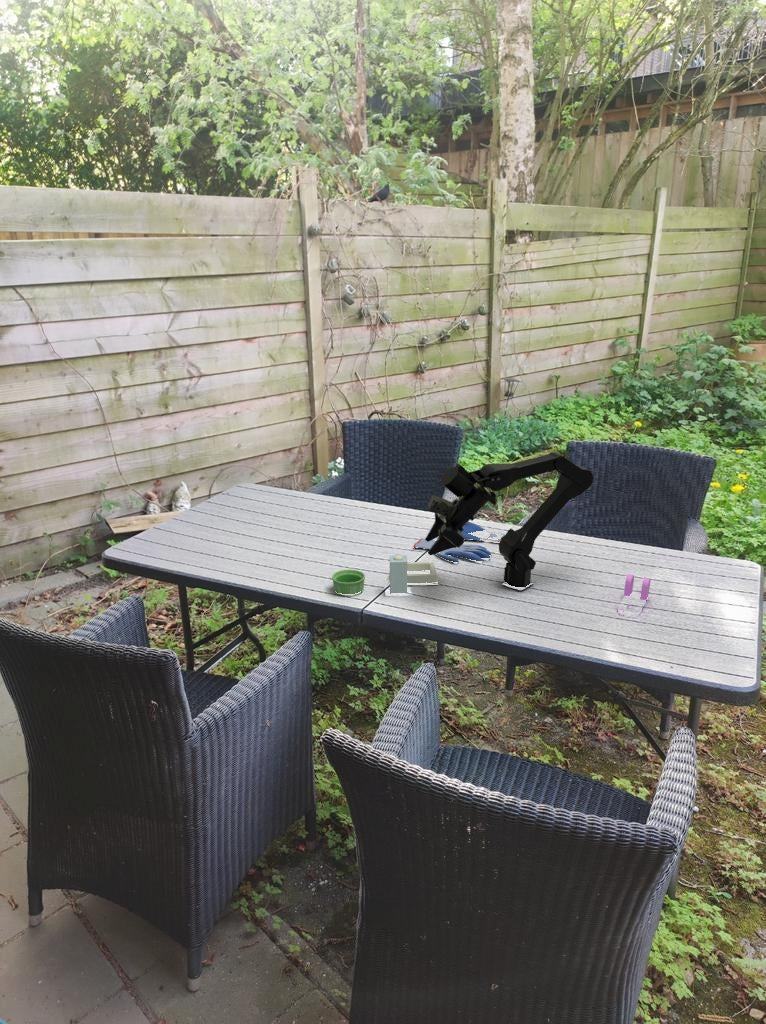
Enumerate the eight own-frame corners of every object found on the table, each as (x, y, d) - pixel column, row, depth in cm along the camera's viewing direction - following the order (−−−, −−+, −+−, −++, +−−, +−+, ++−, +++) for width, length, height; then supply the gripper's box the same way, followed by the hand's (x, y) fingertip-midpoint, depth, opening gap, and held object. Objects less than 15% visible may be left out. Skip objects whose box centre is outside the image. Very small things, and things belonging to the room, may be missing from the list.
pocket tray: (435, 570, 206) (435, 557, 204) (438, 585, 196) (439, 572, 195) (390, 571, 205) (390, 558, 204) (391, 586, 196) (391, 573, 194)
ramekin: (328, 586, 196) (327, 572, 195) (359, 581, 199) (358, 567, 198) (337, 600, 188) (337, 585, 187) (369, 594, 191) (369, 579, 190)
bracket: (626, 595, 190) (629, 571, 188) (647, 600, 188) (651, 576, 185) (614, 615, 180) (617, 590, 177) (637, 620, 177) (640, 595, 175)
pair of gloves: (480, 571, 206) (481, 560, 205) (402, 555, 218) (402, 544, 217) (516, 537, 233) (517, 526, 232) (445, 524, 244) (445, 514, 243)
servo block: (411, 589, 194) (412, 552, 191) (412, 596, 190) (413, 559, 186) (384, 589, 194) (384, 553, 190) (384, 596, 190) (384, 559, 186)
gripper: (442, 475, 191) (403, 516, 195) (449, 497, 174) (406, 542, 178) (472, 501, 194) (433, 541, 198) (482, 525, 176) (439, 568, 180)
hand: (427, 547), depth 188 cm, fingers open, 9 cm apart
